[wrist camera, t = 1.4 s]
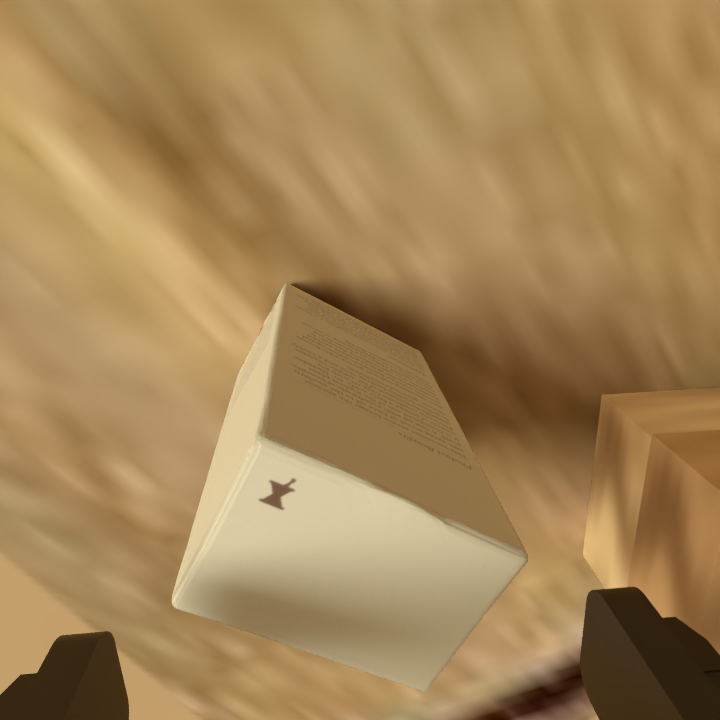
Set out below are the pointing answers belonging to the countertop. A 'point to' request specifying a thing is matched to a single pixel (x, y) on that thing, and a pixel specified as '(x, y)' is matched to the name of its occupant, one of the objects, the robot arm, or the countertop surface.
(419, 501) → the skincare box
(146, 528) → the countertop surface
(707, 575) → the tan square block
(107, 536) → the countertop surface
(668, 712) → the robot arm
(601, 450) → the block lower
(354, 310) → the countertop surface
